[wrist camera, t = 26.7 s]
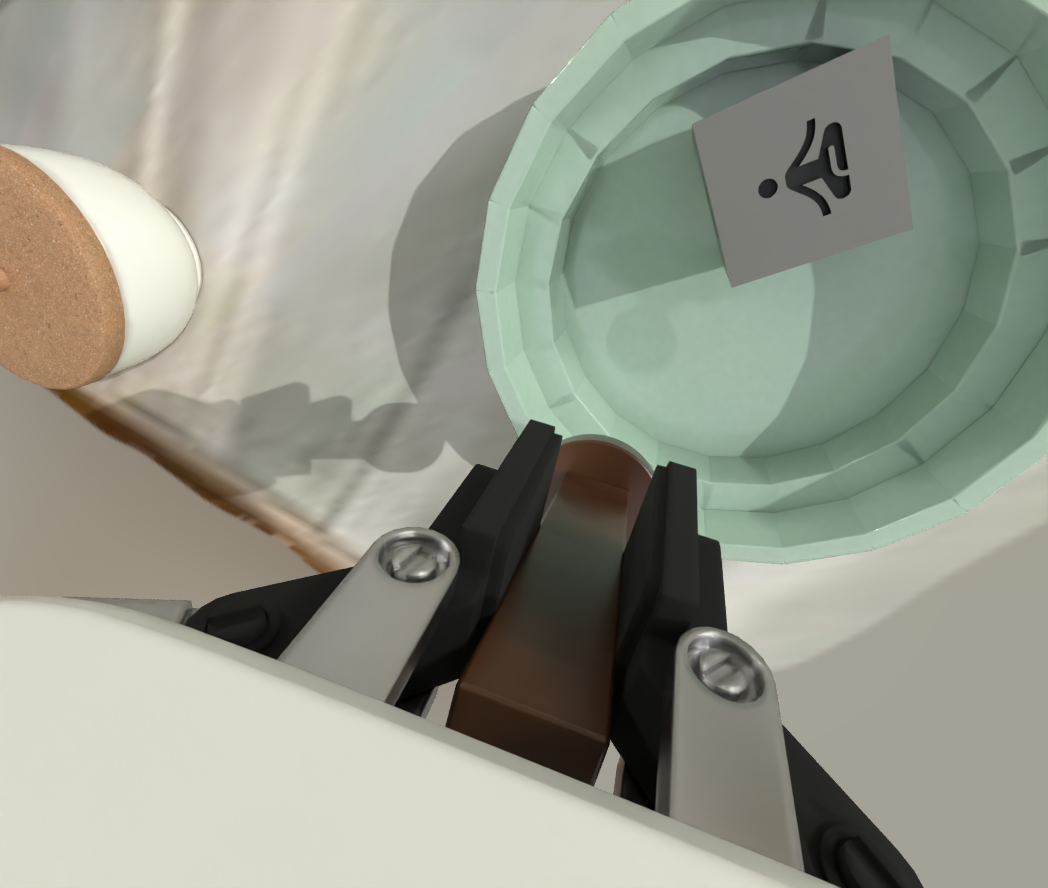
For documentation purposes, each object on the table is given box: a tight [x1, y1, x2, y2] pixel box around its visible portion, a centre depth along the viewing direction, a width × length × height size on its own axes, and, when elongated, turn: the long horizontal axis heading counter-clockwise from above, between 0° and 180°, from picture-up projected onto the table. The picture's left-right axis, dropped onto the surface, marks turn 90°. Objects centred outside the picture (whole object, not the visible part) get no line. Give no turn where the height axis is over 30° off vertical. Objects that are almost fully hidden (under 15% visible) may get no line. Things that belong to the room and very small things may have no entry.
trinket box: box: [0, 144, 202, 390], centre depth 26 cm, size 11×11×9 cm
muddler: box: [445, 434, 654, 787], centre depth 12 cm, size 4×4×11 cm
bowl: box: [476, 0, 1048, 564], centre depth 20 cm, size 20×20×6 cm
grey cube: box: [692, 34, 913, 288], centre depth 17 cm, size 5×5×5 cm
